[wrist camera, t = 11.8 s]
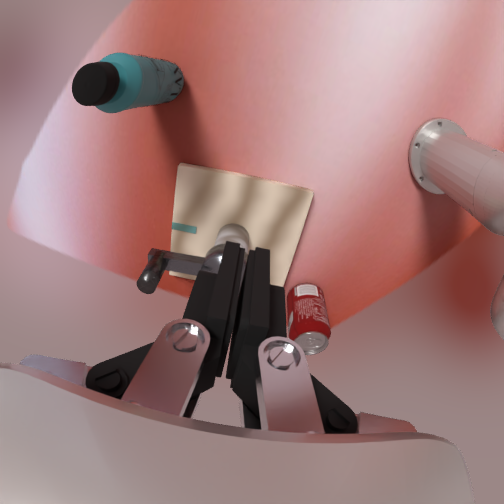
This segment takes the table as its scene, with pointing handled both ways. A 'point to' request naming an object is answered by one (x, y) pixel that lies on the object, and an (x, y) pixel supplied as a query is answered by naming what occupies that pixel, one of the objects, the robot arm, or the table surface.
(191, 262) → the crank handle
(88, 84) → the beverage bottle
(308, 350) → the soda can
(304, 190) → the square base with post
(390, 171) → the table surface
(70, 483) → the robot arm
